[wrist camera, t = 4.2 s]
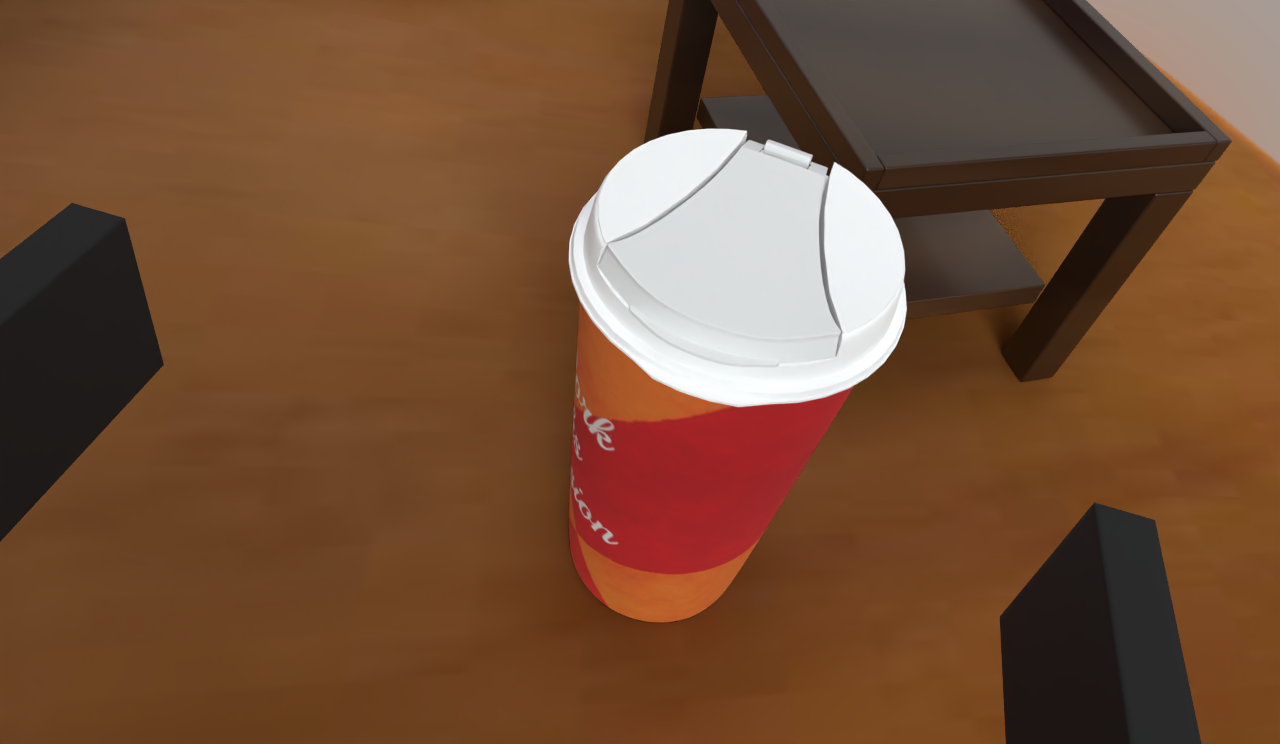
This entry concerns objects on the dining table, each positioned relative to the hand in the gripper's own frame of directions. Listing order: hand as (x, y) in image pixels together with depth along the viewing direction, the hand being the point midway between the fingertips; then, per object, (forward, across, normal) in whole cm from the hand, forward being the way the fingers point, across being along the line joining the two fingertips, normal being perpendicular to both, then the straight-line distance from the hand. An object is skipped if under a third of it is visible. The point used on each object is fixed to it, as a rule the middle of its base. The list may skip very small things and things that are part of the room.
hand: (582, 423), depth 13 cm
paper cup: (+10, +2, -16) cm, 19 cm away
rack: (+26, +6, -14) cm, 30 cm away
